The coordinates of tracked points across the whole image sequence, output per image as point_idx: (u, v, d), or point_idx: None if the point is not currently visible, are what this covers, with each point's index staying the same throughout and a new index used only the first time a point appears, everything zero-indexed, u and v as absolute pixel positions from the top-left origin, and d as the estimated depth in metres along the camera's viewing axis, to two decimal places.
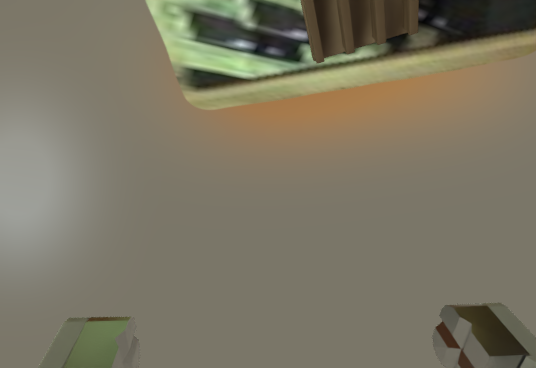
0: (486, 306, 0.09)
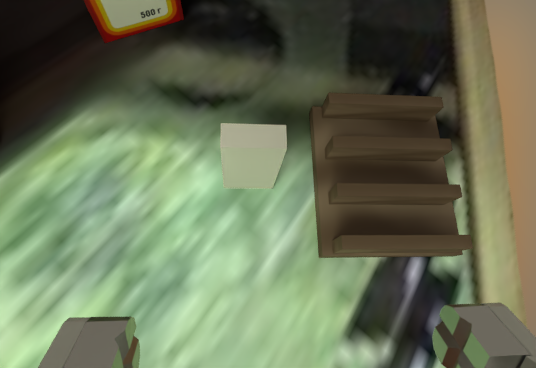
0: (486, 307, 0.09)
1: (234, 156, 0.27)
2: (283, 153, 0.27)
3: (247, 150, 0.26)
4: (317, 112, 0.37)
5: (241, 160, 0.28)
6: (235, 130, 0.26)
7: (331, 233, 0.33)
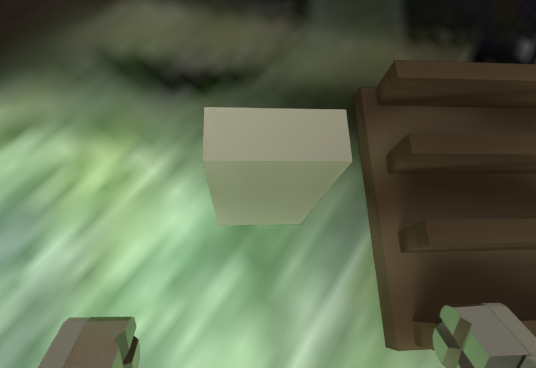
0: (486, 306, 0.09)
1: (236, 178, 0.13)
2: (340, 171, 0.12)
3: (265, 166, 0.12)
4: (369, 96, 0.23)
5: (249, 186, 0.14)
6: (236, 122, 0.12)
7: (410, 307, 0.18)
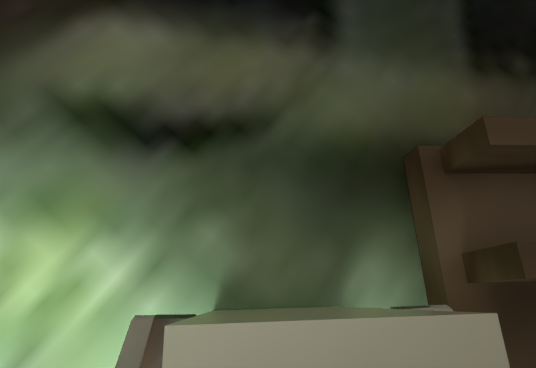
0: (430, 309, 0.09)
1: None
2: None
3: None
4: (431, 159, 0.16)
5: None
6: (243, 367, 0.05)
7: None
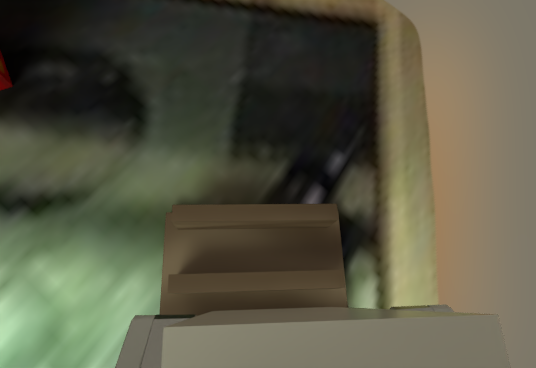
0: (430, 308, 0.09)
1: None
2: None
3: None
4: (172, 221, 0.27)
5: None
6: None
7: None
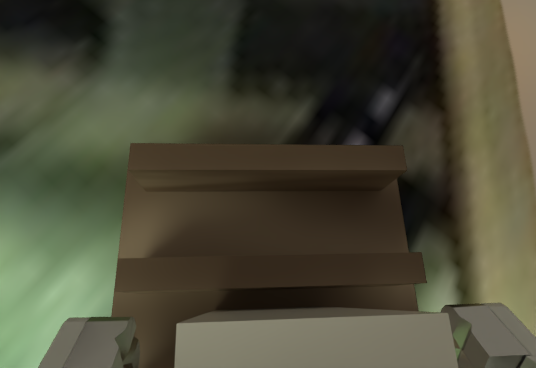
0: (486, 306, 0.09)
1: None
2: None
3: None
4: None
5: None
6: (239, 357, 0.06)
7: None
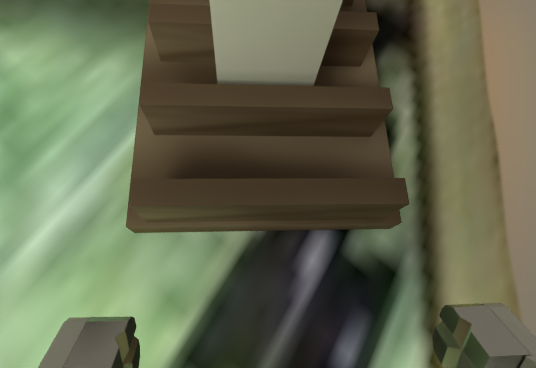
0: (486, 306, 0.09)
1: None
2: None
3: None
4: None
5: None
6: None
7: None
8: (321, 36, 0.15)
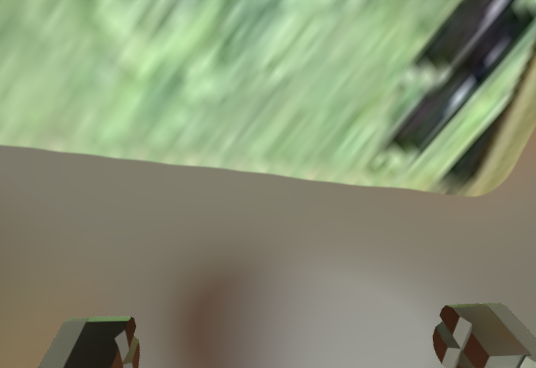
0: (485, 306, 0.09)
1: None
2: None
3: None
4: None
5: None
6: None
7: None
8: None
